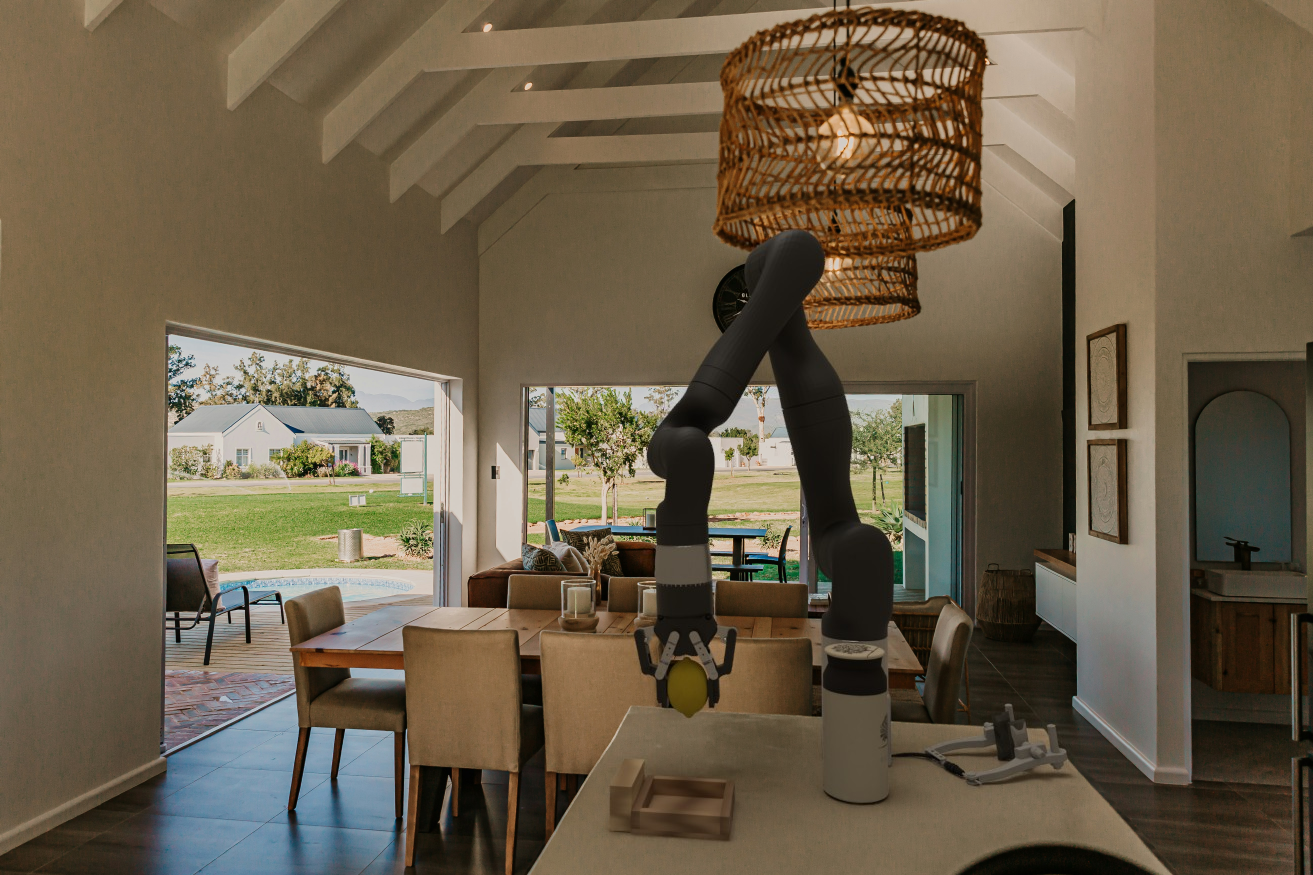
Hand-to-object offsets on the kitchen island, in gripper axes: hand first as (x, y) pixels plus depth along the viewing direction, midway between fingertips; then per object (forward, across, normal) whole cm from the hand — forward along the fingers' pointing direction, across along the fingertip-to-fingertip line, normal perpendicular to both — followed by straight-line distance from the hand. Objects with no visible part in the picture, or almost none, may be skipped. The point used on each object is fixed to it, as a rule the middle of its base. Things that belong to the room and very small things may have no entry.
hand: (688, 705), depth 110 cm
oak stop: (+9, +6, +12) cm, 16 cm away
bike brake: (+12, -38, -10) cm, 41 cm away
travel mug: (+11, -21, +1) cm, 24 cm away
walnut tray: (+10, 0, +12) cm, 15 cm away
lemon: (+2, 0, 0) cm, 2 cm away
